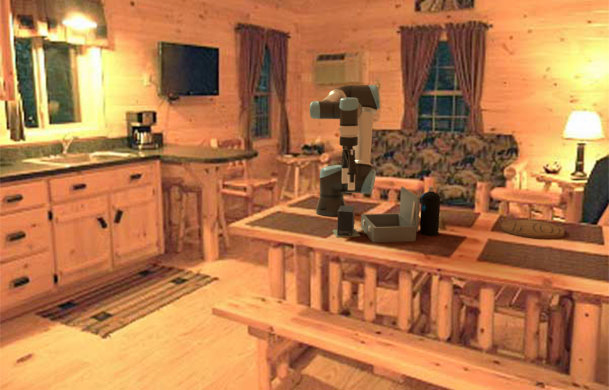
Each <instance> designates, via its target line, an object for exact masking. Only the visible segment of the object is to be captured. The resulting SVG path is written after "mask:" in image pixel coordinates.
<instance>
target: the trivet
mask: <svg viewBox="0 0 609 390" xmlns="http://www.w3.org/2000/svg"><path fill="white" fill-rule="evenodd" d="M500 225H501V226H500V229H501V231H503V232H504V233H506V234H509V235H512V236H515V237H519V238H525V239H526V238H527V239H533V240H554V239H555V240H557V239H561V238H563V237H564V236H565V229H564V228H563V226H560V225H557V224H554V223H550V222H545V221H541V220H540V221H539V220H530V219H515V220H506V221H504V222H502V223H501V224H500Z"/></svg>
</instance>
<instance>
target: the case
mask: <svg viewBox="0 0 609 390" xmlns="http://www.w3.org/2000/svg"><path fill="white" fill-rule="evenodd" d="M420 199H421V196H419V195H417V193H416V194H415V193H414V192H413V191H410V190H409V189H408V188H406V187H405V186H400V202H399V203H400V204H399V206H400V207H399V212H393V213H392V212H391V213H362V214H361V215H360V229H361V230H362V231H364V233H365V234H366V235H367V237H368V238H369V239H370V240H371V241H372V243H375V244H376V243H396V242H397V243H399V242H416V240H417V232H419V229H420V207H421V203H420V202H421V200H420Z"/></svg>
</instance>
